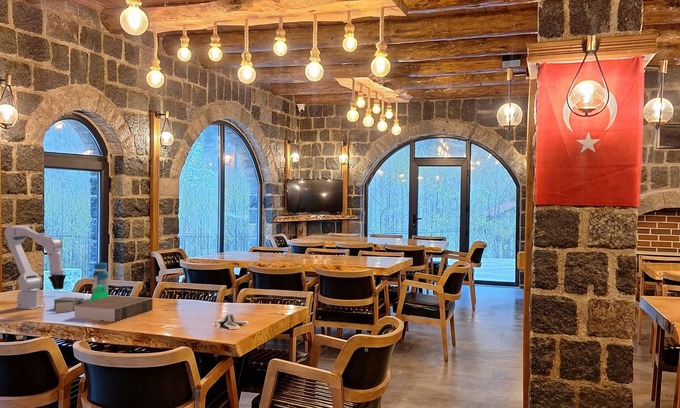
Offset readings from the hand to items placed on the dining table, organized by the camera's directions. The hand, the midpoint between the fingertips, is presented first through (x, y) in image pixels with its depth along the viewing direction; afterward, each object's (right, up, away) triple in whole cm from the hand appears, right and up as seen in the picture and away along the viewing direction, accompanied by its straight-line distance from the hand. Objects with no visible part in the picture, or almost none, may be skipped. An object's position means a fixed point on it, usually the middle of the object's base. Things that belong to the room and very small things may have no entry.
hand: (58, 289), depth 281 cm
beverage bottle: (+6, -11, +34) cm, 37 cm away
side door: (+5, -11, -2) cm, 12 cm away
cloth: (+91, -13, -28) cm, 96 cm away
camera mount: (+15, -11, +17) cm, 26 cm away
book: (+31, -12, -6) cm, 34 cm away
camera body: (+3, -11, +6) cm, 13 cm away
